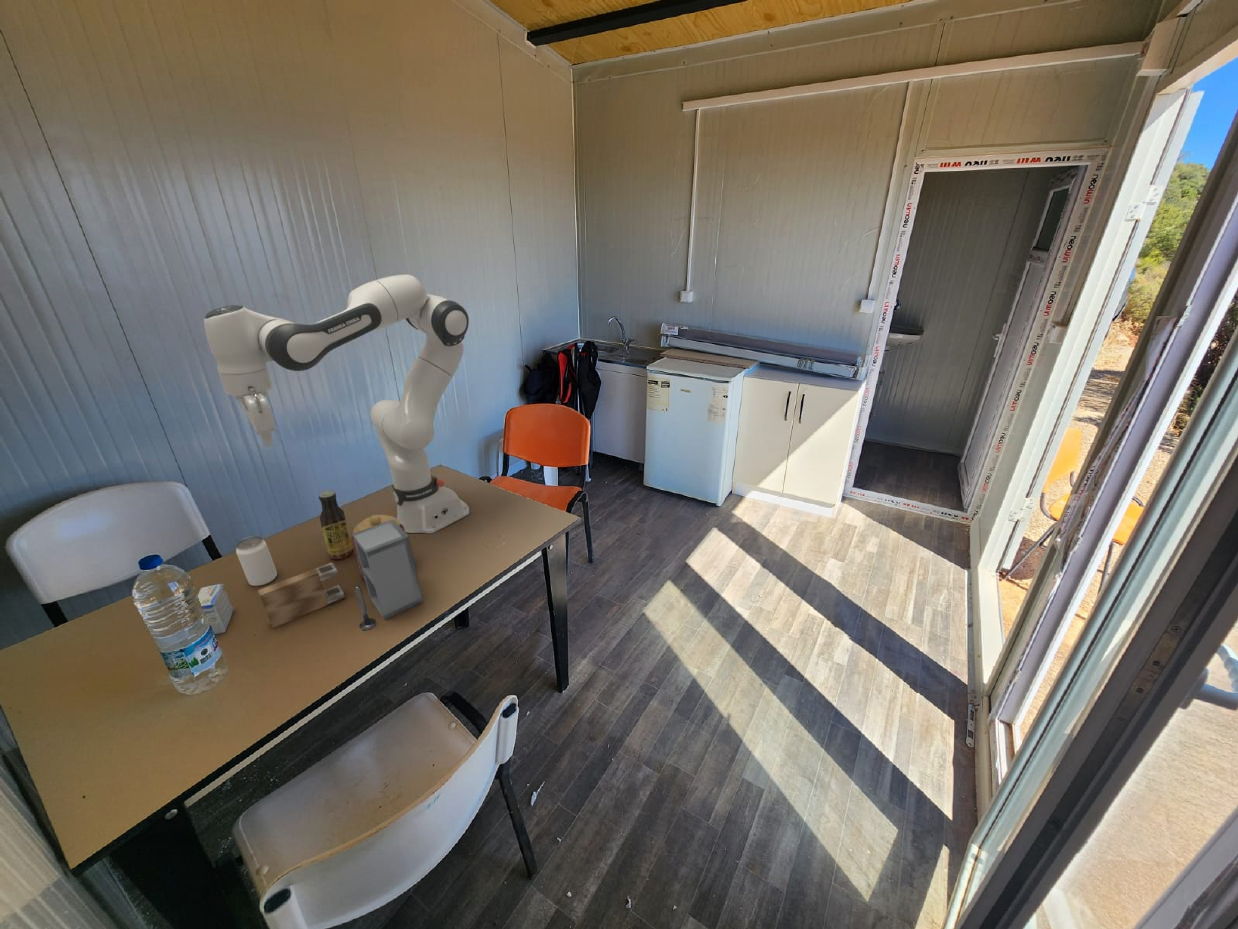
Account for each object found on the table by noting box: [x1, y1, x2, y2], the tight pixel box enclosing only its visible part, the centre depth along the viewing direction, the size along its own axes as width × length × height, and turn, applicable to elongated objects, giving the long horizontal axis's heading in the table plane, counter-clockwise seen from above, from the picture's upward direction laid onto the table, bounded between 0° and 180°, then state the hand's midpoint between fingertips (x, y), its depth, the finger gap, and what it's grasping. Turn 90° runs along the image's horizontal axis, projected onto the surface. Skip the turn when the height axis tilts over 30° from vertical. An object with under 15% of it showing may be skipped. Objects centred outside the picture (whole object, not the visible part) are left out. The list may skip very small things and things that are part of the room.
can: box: [235, 535, 278, 587], centre depth 129 cm, size 6×6×12 cm
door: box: [257, 562, 345, 629], centre depth 120 cm, size 16×4×10 cm, turn 133°
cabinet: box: [352, 519, 423, 621], centre depth 121 cm, size 10×10×20 cm
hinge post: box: [354, 585, 377, 631], centre depth 115 cm, size 4×4×12 cm
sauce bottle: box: [318, 490, 353, 560], centre depth 138 cm, size 6×6×20 cm
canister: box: [351, 514, 406, 581], centre depth 132 cm, size 13×13×18 cm
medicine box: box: [197, 583, 235, 635], centre depth 116 cm, size 8×4×9 cm, turn 23°
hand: (265, 439), depth 116 cm, fingers open, 8 cm apart
